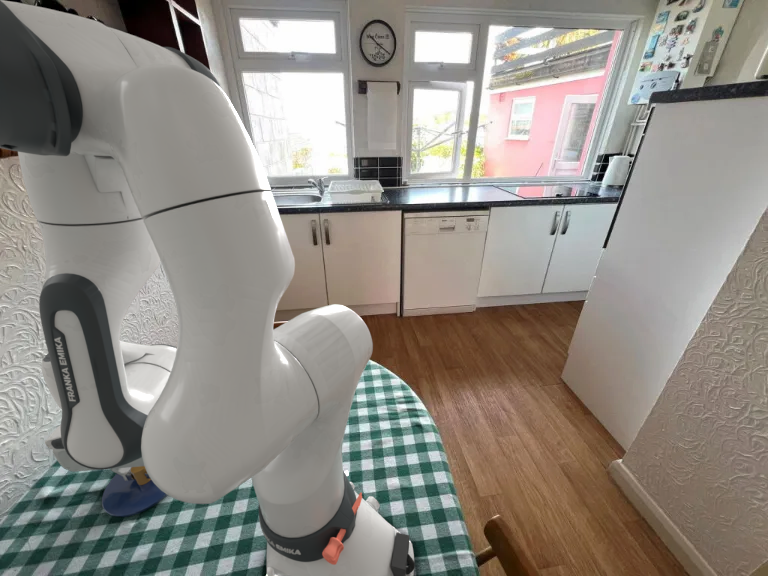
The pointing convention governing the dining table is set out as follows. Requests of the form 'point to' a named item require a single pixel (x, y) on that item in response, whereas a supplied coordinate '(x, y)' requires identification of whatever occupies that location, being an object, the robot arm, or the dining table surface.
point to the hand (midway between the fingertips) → (143, 475)
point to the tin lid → (131, 494)
